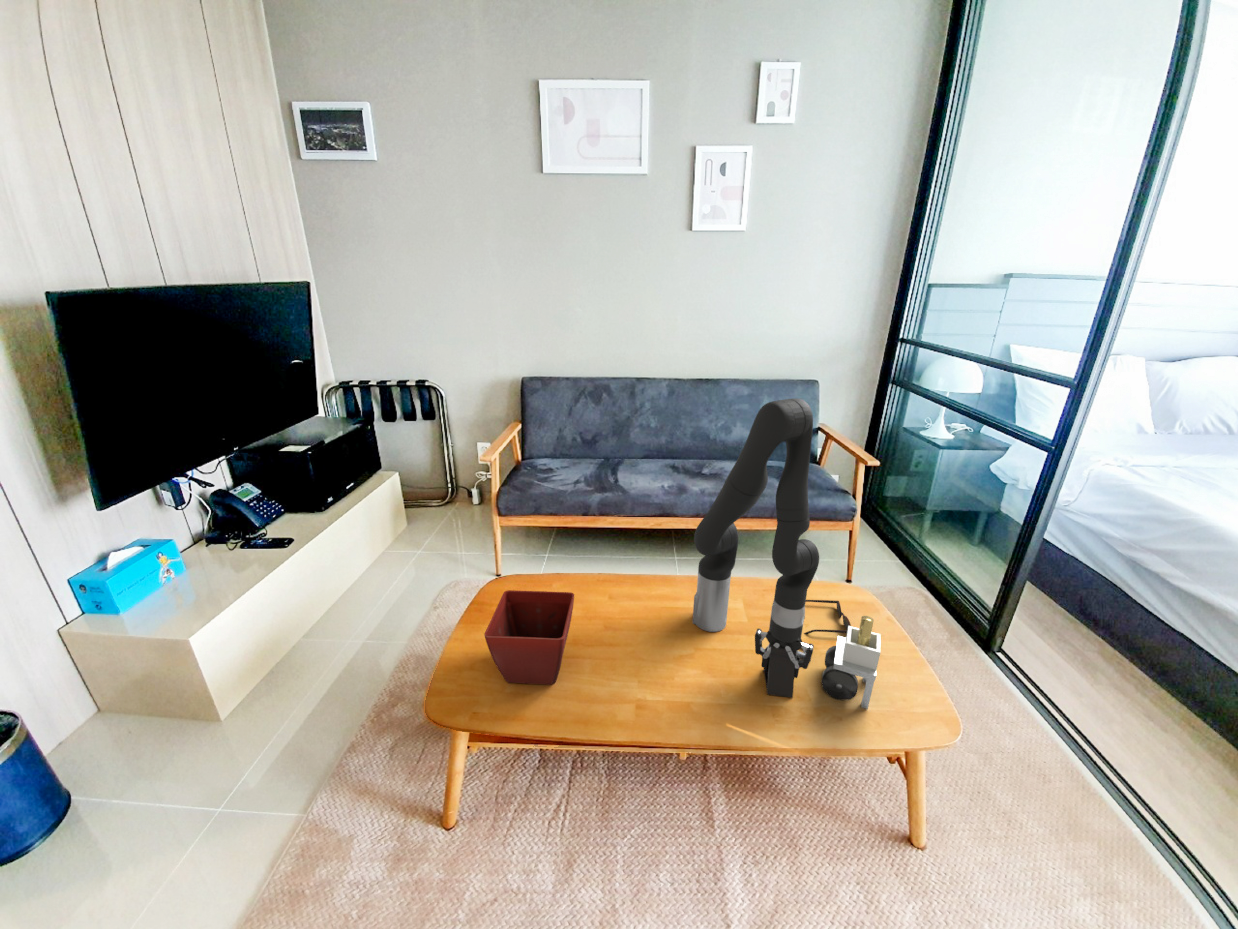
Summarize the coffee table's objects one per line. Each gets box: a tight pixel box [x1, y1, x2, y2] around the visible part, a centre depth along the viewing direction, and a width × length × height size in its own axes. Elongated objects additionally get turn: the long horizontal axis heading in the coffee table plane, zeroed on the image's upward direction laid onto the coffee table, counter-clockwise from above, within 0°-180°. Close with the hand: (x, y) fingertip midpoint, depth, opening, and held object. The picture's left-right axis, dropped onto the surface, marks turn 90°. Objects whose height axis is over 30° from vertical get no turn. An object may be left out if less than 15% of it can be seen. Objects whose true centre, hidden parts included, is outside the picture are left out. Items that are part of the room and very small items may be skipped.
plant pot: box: [484, 589, 575, 685], centre depth 130 cm, size 19×19×17 cm
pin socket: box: [797, 641, 812, 662], centre depth 138 cm, size 5×5×2 cm
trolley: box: [820, 635, 877, 710], centre depth 125 cm, size 11×11×10 cm
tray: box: [843, 625, 882, 671], centre depth 122 cm, size 7×7×5 cm
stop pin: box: [857, 615, 874, 647], centre depth 121 cm, size 3×3×10 cm
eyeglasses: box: [803, 599, 852, 635], centre depth 151 cm, size 15×15×5 cm
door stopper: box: [763, 642, 796, 699], centre depth 126 cm, size 9×6×12 cm, turn 171°
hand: (779, 672), depth 127 cm, fingers closed on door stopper, 6 cm apart
